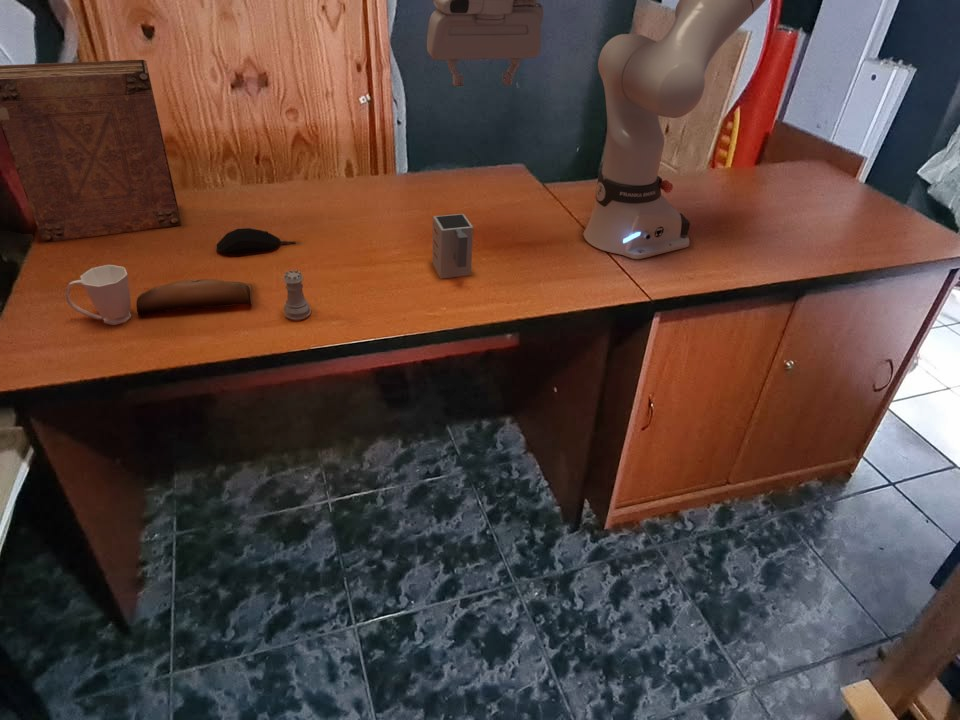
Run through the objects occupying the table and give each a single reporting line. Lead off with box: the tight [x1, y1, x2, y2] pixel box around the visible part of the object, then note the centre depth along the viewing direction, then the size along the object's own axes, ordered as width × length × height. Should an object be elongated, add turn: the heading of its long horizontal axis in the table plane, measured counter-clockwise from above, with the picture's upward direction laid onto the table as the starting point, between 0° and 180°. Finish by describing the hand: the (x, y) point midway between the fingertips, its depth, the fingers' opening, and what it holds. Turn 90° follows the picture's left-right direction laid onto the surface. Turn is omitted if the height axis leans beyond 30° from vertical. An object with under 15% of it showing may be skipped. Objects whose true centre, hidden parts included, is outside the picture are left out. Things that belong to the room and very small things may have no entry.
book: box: [0, 59, 182, 243], centre depth 131 cm, size 25×9×30 cm, turn 113°
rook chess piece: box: [282, 269, 312, 321], centre depth 115 cm, size 4×4×8 cm
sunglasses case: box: [136, 278, 253, 316], centre depth 117 cm, size 18×7×7 cm
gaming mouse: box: [216, 227, 297, 257], centre depth 134 cm, size 6×15×4 cm, turn 109°
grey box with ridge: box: [431, 213, 474, 280], centre depth 128 cm, size 10×6×9 cm
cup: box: [65, 264, 132, 326], centre depth 111 cm, size 7×10×8 cm
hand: (482, 84), depth 124 cm, fingers open, 8 cm apart
